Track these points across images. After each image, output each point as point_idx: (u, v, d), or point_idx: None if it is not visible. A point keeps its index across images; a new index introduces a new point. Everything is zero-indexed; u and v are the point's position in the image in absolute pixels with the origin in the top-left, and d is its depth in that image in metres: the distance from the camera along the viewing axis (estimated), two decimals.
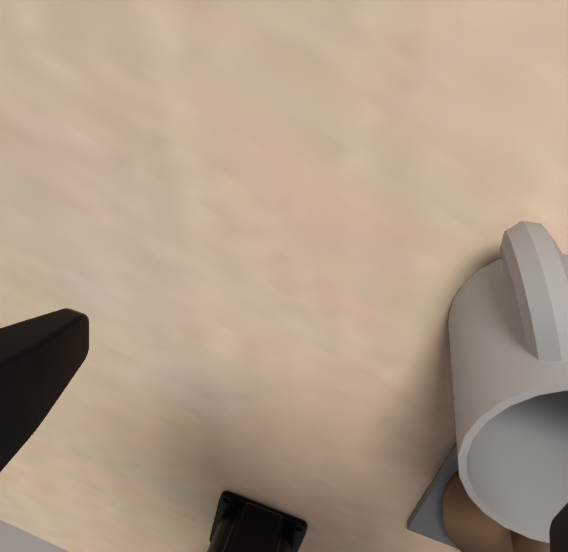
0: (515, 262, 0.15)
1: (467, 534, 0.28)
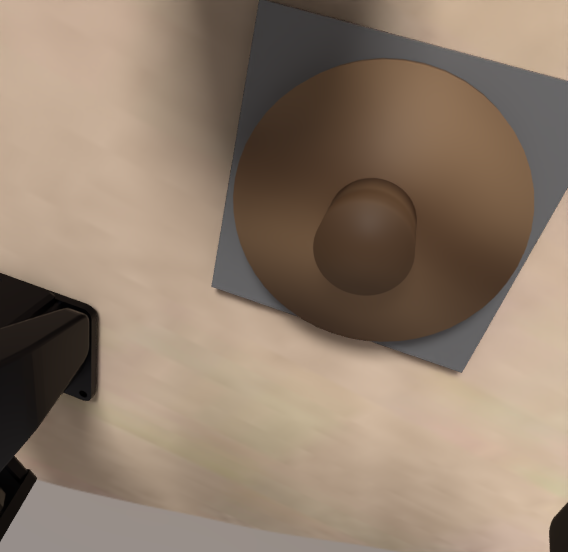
0: None
1: (275, 259, 0.18)
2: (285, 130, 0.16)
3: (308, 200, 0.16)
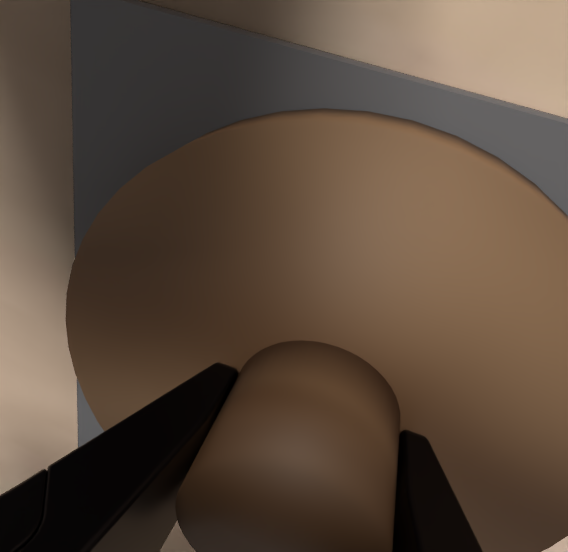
0: None
1: None
2: (138, 247, 0.08)
3: (198, 366, 0.09)
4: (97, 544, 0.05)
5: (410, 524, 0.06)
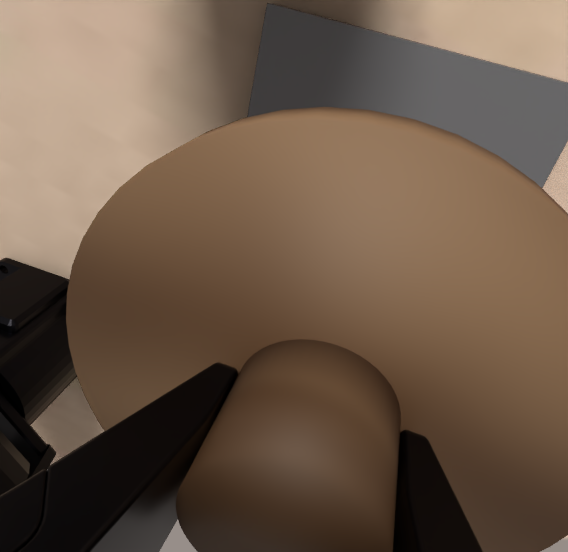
0: None
1: None
2: (138, 246, 0.08)
3: (198, 365, 0.09)
4: (97, 544, 0.05)
5: (410, 524, 0.06)
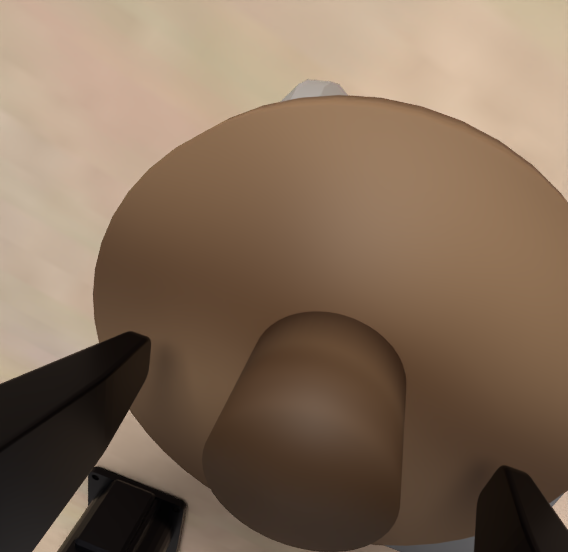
0: None
1: (174, 416, 0.11)
2: (165, 224, 0.08)
3: (217, 337, 0.09)
4: None
5: None
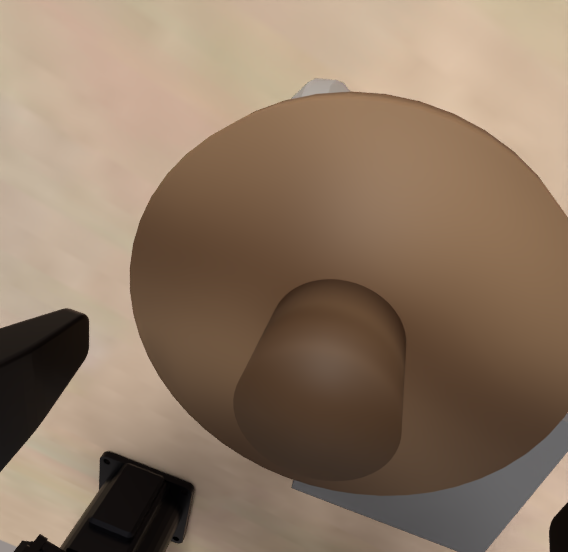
0: None
1: (199, 379, 0.12)
2: (198, 203, 0.10)
3: (240, 304, 0.11)
4: None
5: None
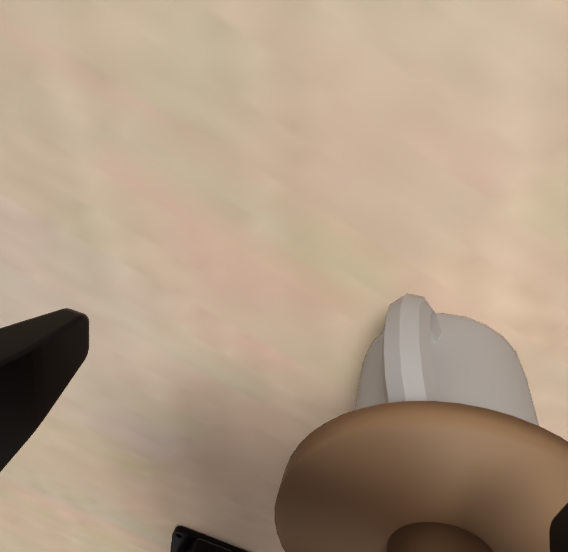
0: (384, 345, 0.16)
1: None
2: (340, 468, 0.13)
3: (365, 526, 0.14)
4: None
5: None
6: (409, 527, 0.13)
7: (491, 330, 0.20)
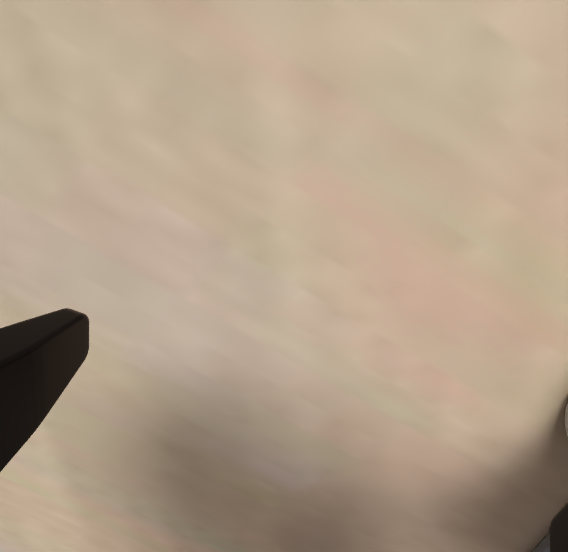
0: None
1: None
2: None
3: None
4: None
5: None
6: None
7: None
